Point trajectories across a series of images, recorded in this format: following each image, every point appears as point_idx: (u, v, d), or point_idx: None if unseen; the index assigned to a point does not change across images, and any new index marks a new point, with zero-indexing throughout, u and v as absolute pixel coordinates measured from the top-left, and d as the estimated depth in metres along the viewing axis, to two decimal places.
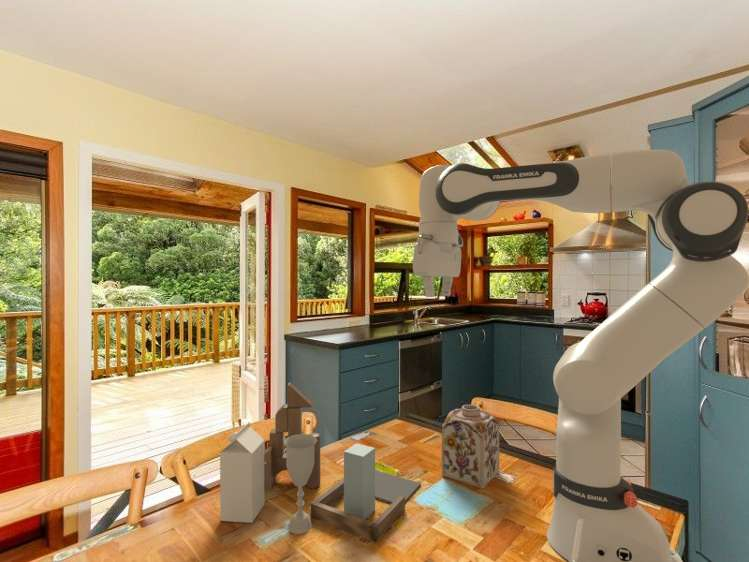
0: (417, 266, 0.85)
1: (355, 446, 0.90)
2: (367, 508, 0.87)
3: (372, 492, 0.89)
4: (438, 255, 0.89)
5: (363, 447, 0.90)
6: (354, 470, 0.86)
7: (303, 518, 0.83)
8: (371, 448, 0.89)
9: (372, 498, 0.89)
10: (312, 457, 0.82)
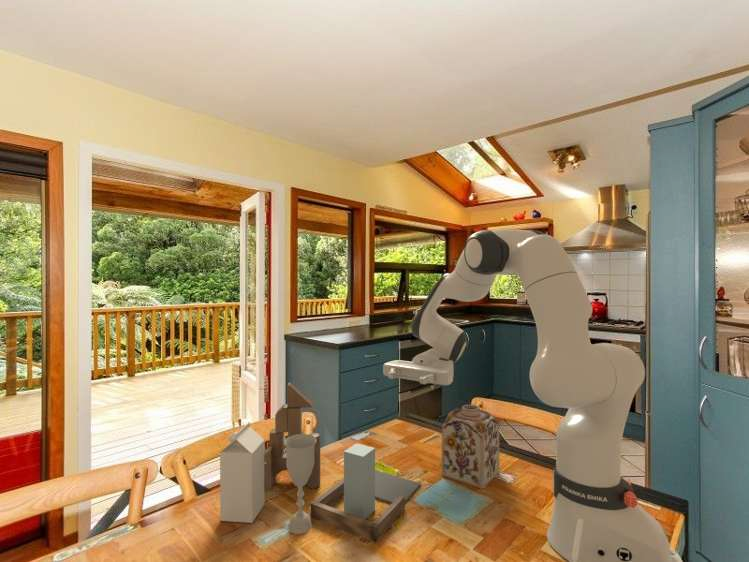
0: None
1: (355, 446, 0.90)
2: (367, 508, 0.87)
3: (372, 492, 0.89)
4: (409, 364, 1.18)
5: (363, 447, 0.90)
6: (354, 470, 0.86)
7: (303, 518, 0.83)
8: (371, 448, 0.89)
9: (372, 498, 0.89)
10: (312, 457, 0.82)
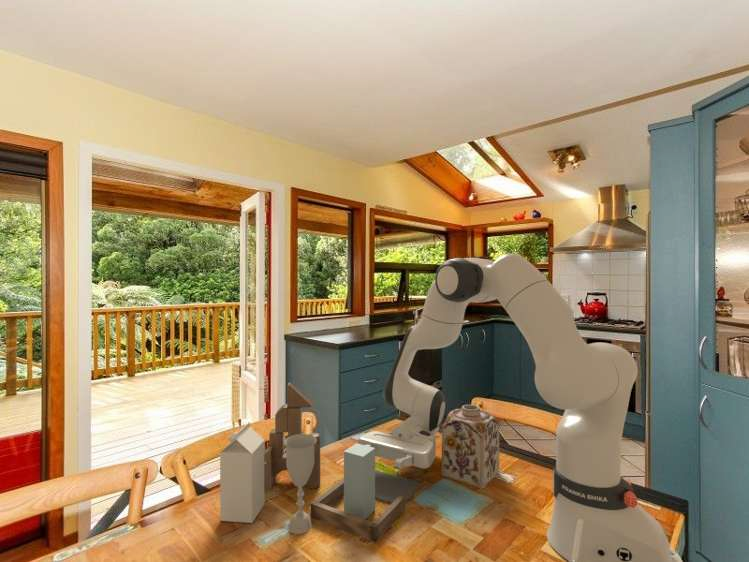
0: None
1: (355, 446, 0.90)
2: (367, 508, 0.87)
3: (372, 492, 0.89)
4: (387, 438, 1.06)
5: (363, 447, 0.90)
6: (354, 470, 0.86)
7: (303, 518, 0.83)
8: (371, 448, 0.89)
9: (372, 498, 0.89)
10: (312, 457, 0.82)
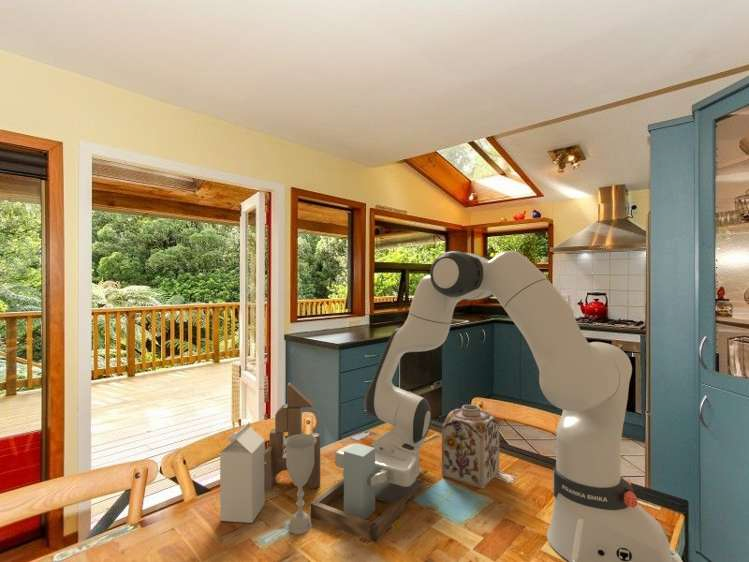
0: None
1: (355, 446, 0.90)
2: (367, 508, 0.87)
3: (372, 492, 0.89)
4: None
5: (363, 447, 0.90)
6: (354, 470, 0.86)
7: (303, 518, 0.83)
8: (371, 448, 0.89)
9: (372, 498, 0.89)
10: (312, 457, 0.82)
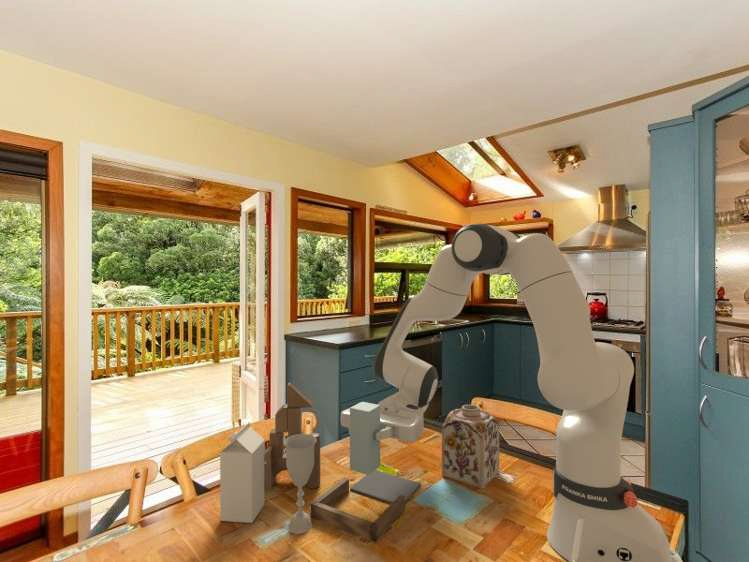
0: None
1: (361, 404, 0.92)
2: (372, 463, 0.89)
3: (378, 448, 0.91)
4: None
5: (368, 404, 0.92)
6: (360, 426, 0.88)
7: (303, 518, 0.83)
8: (376, 405, 0.91)
9: (377, 454, 0.90)
10: (312, 457, 0.82)
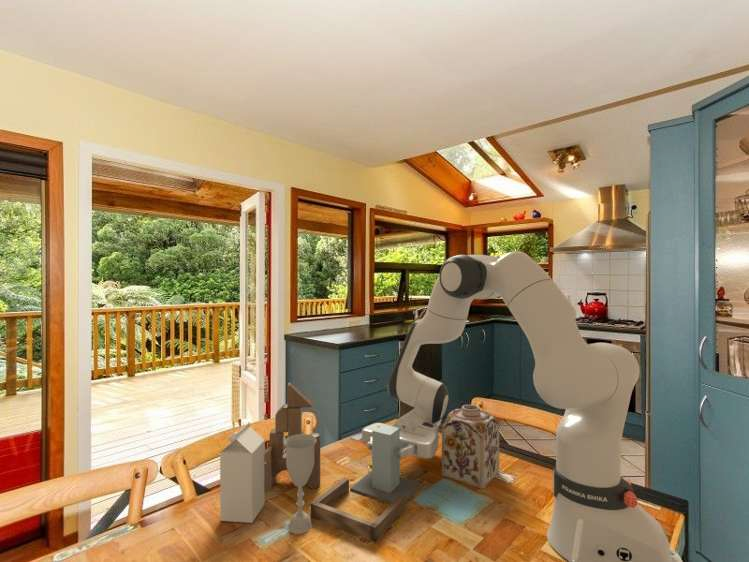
0: None
1: (381, 426, 1.00)
2: (393, 481, 0.97)
3: (397, 468, 0.99)
4: None
5: (389, 427, 1.00)
6: (382, 447, 0.97)
7: (303, 518, 0.83)
8: (396, 428, 0.99)
9: (397, 473, 0.99)
10: (312, 457, 0.82)
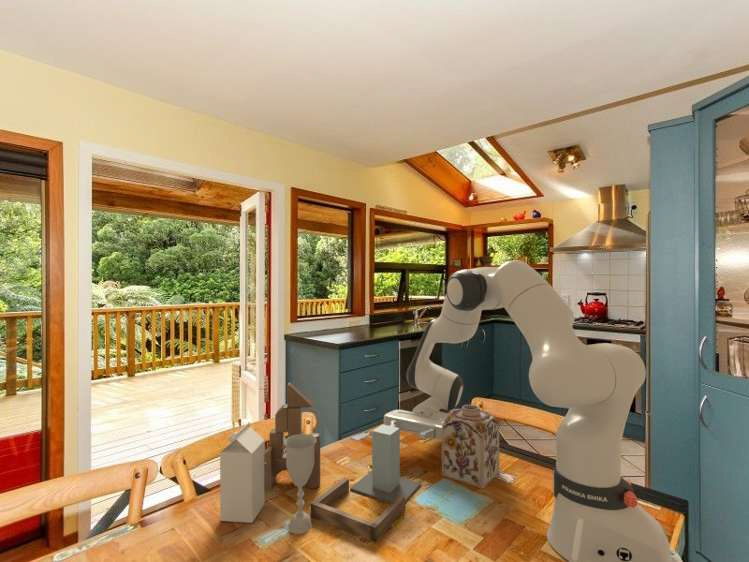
0: None
1: (381, 426, 1.00)
2: (393, 481, 0.97)
3: (397, 468, 0.99)
4: (410, 415, 1.18)
5: (389, 427, 1.00)
6: (382, 447, 0.97)
7: (303, 518, 0.83)
8: (396, 428, 0.99)
9: (397, 473, 0.99)
10: (312, 457, 0.82)
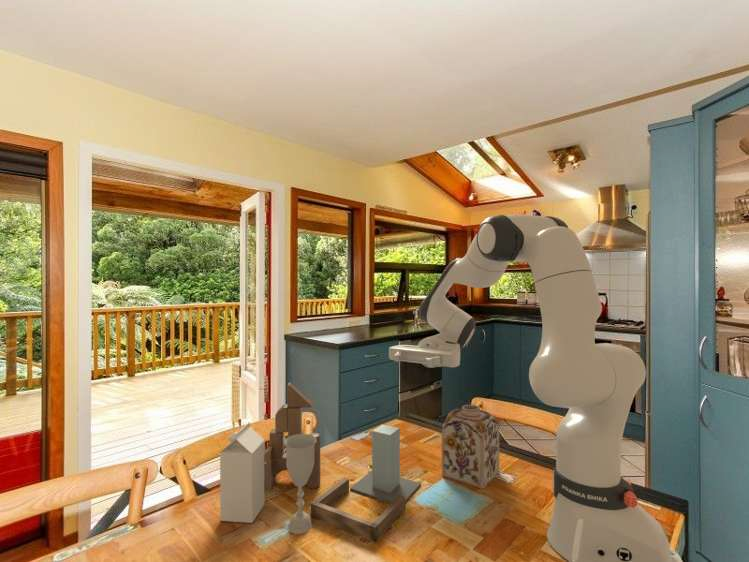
0: None
1: (381, 426, 1.00)
2: (393, 481, 0.97)
3: (397, 468, 0.99)
4: (415, 348, 1.16)
5: (389, 427, 1.00)
6: (382, 447, 0.97)
7: (303, 518, 0.83)
8: (396, 428, 0.99)
9: (397, 473, 0.99)
10: (312, 457, 0.82)
